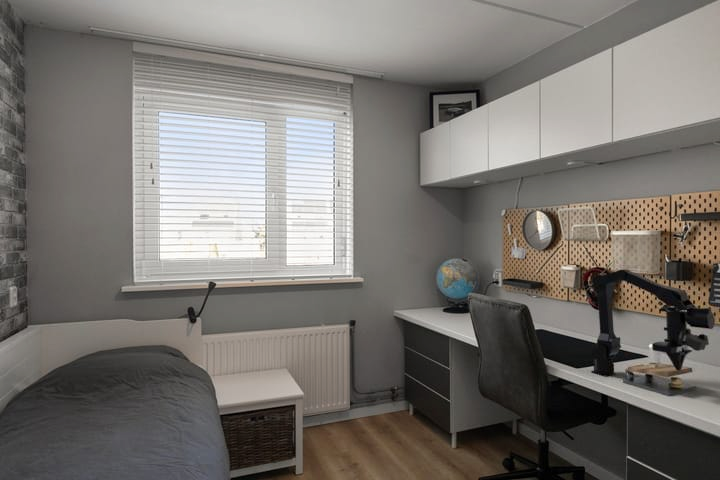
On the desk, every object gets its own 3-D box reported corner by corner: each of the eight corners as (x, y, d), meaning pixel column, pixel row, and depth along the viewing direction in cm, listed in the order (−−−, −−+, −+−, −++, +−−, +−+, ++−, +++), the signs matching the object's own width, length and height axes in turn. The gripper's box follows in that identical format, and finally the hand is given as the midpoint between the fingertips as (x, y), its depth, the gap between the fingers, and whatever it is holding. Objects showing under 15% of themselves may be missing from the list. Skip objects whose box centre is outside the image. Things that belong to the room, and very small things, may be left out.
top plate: (625, 372, 162) (624, 364, 162) (649, 368, 167) (648, 359, 168) (667, 379, 148) (666, 370, 148) (692, 374, 153) (691, 365, 154)
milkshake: (665, 367, 180) (665, 343, 180) (650, 366, 182) (650, 342, 182) (662, 364, 184) (662, 341, 185) (648, 363, 186) (647, 340, 186)
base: (622, 382, 162) (622, 370, 162) (650, 376, 168) (649, 365, 168) (668, 396, 147) (668, 383, 147) (697, 389, 153) (697, 376, 153)
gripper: (685, 331, 141) (687, 379, 140) (718, 326, 148) (720, 372, 147) (650, 326, 151) (652, 371, 150) (683, 321, 158) (685, 364, 158)
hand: (678, 369), depth 151 cm, fingers closed, pressing on top plate
